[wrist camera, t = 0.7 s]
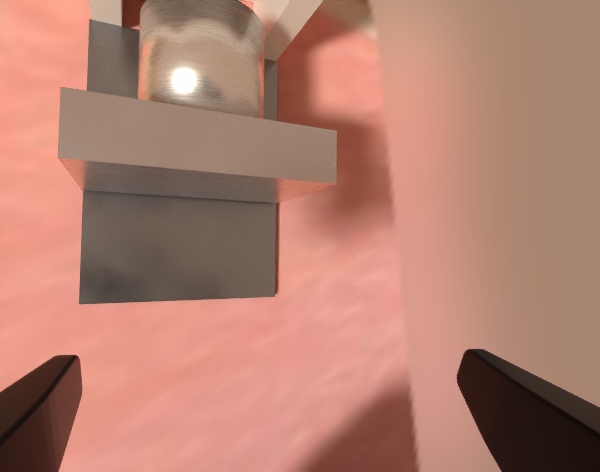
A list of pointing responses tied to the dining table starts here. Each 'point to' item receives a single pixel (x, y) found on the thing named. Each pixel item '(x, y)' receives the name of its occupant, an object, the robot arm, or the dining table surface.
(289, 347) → the dining table surface
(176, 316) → the dining table surface
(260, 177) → the grey piece
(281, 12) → the socket
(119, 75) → the plate
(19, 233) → the dining table surface
